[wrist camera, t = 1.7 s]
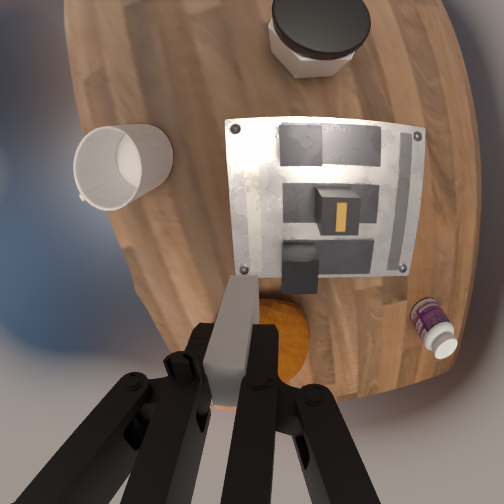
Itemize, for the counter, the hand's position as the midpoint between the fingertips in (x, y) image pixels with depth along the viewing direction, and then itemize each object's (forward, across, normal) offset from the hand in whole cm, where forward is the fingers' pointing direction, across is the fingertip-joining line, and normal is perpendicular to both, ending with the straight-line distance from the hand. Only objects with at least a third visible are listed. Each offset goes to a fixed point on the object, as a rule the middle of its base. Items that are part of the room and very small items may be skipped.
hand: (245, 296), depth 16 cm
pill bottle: (+21, +26, -18) cm, 38 cm away
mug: (+21, -17, +6) cm, 28 cm away
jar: (+21, +6, +19) cm, 29 cm away
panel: (+21, +8, 0) cm, 23 cm away
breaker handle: (+19, +8, 0) cm, 20 cm away
